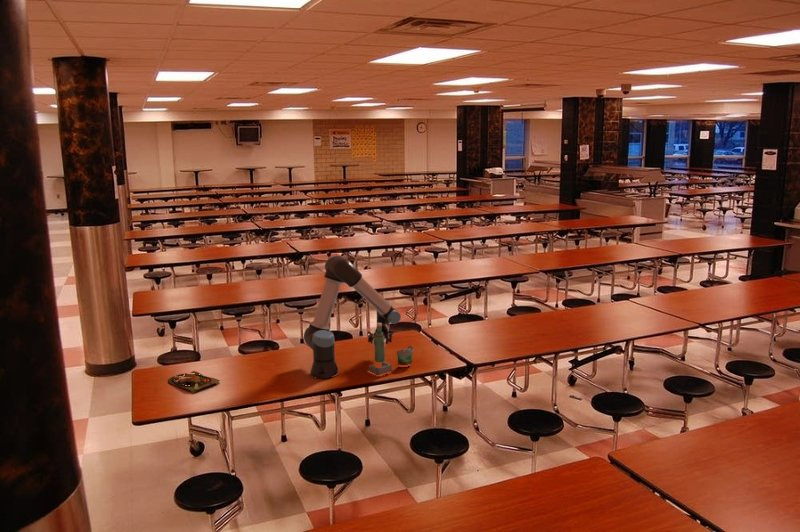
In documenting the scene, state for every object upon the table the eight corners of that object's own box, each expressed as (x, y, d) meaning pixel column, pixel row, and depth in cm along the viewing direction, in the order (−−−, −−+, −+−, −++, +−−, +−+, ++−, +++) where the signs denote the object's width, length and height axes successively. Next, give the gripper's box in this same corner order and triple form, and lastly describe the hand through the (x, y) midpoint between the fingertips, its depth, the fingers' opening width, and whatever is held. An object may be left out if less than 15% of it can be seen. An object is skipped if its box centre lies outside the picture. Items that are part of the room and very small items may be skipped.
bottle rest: (366, 372, 342) (366, 363, 341) (381, 368, 348) (381, 360, 347) (377, 377, 334) (377, 369, 333) (392, 373, 340) (391, 365, 339)
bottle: (372, 360, 340) (372, 323, 336) (381, 358, 344) (380, 321, 339) (378, 363, 336) (377, 325, 332) (386, 360, 339) (386, 323, 335)
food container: (405, 370, 345) (405, 353, 343) (396, 367, 349) (396, 350, 347) (418, 363, 355) (418, 347, 353) (409, 361, 358) (409, 345, 356)
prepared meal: (163, 376, 329) (193, 366, 343) (163, 382, 330) (193, 372, 344) (192, 390, 312) (222, 379, 325) (192, 397, 313) (223, 386, 326)
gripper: (398, 337, 356) (396, 351, 333) (366, 337, 356) (361, 351, 334) (397, 325, 354) (395, 337, 331) (365, 325, 355) (361, 337, 332)
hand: (378, 344), depth 333 cm, fingers closed on bottle, 6 cm apart
